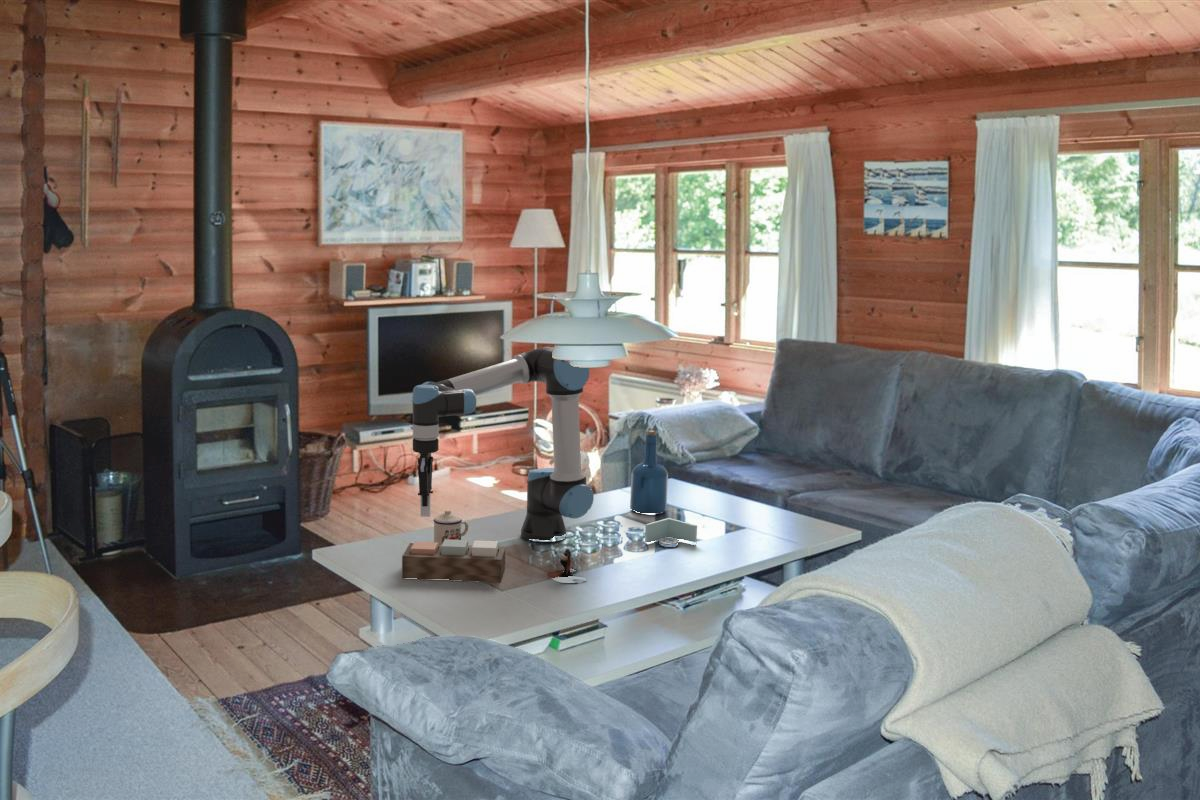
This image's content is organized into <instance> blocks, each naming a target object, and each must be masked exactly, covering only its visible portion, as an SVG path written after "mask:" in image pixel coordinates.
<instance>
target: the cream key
mask: <svg viewBox="0 0 1200 800" xmlns="http://www.w3.org/2000/svg"><path fill="white" fill-rule="evenodd" d="M472 545H473V546H472V556H488V557H497V555H498V546H499V541H498V540H496V541H495V540H475V539H474V541H473V543H472Z"/></svg>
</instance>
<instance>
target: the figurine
mask: <svg viewBox="0 0 1200 800" xmlns="http://www.w3.org/2000/svg"><path fill="white" fill-rule="evenodd" d="M571 559H572V552H571V550H570V548H566V549H565V550H564V552H562V553H560V558H559V562H560V563H559V564H561V566H562V567H563V569H562V570H560V569H559V570H554V571H549V572H548V573H546V576H547V578H548V579H550V578H555V577H558V576H559V577H568V576H573V575H574V574H572V573H571V572H570V571H571V569H570V567H571V568H572V569H574V570H576V572H578V569H577V568H574V567H572V566H571V563H572V562H571ZM563 571H564V572H563Z"/></svg>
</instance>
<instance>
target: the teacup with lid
mask: <svg viewBox="0 0 1200 800" xmlns="http://www.w3.org/2000/svg"><path fill="white" fill-rule="evenodd" d="M463 524H464V527H465V528H464V530H463V532H462V525H463ZM468 530H469V523H467V522H466V521H464V520H463V519H462V517H461V516H460V515H458V514H455V513H453V512H452V511H451V509H446V510H445V511H444V512H443V513H441V514H439V515H435V517H434V518H433V542H437V543H438V544H443V542H444V540H445V539H450V540H462V538H463V536H465V535H466V534H467V532H469V531H468Z"/></svg>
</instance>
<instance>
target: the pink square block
mask: <svg viewBox="0 0 1200 800" xmlns="http://www.w3.org/2000/svg"><path fill="white" fill-rule="evenodd" d="M413 543H414V544H413V546H412V547H411V554H434V555H436V553H437V551H438V543H437V542H434V541H433V542H432V541H430V542H429V541H414V542H413Z"/></svg>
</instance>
